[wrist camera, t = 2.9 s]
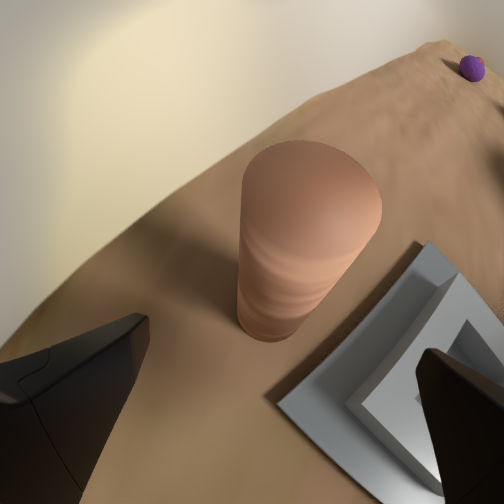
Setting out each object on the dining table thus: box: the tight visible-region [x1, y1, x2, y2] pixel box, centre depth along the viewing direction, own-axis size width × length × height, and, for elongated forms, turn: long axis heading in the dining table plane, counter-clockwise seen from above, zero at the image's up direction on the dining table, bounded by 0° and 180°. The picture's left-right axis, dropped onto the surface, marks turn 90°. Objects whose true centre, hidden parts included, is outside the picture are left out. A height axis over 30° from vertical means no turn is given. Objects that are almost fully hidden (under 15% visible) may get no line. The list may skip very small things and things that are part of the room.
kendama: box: [460, 56, 485, 82], centre depth 45 cm, size 6×6×20 cm
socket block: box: [275, 241, 504, 504], centre depth 16 cm, size 18×18×4 cm
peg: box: [237, 141, 382, 342], centre depth 15 cm, size 4×4×13 cm
